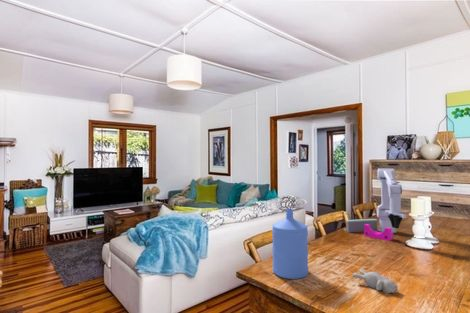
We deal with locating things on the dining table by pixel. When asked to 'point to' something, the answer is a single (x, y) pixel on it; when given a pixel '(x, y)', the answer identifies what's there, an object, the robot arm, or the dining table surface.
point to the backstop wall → (360, 225)
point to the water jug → (290, 248)
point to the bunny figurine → (377, 281)
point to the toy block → (378, 233)
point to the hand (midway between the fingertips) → (395, 227)
